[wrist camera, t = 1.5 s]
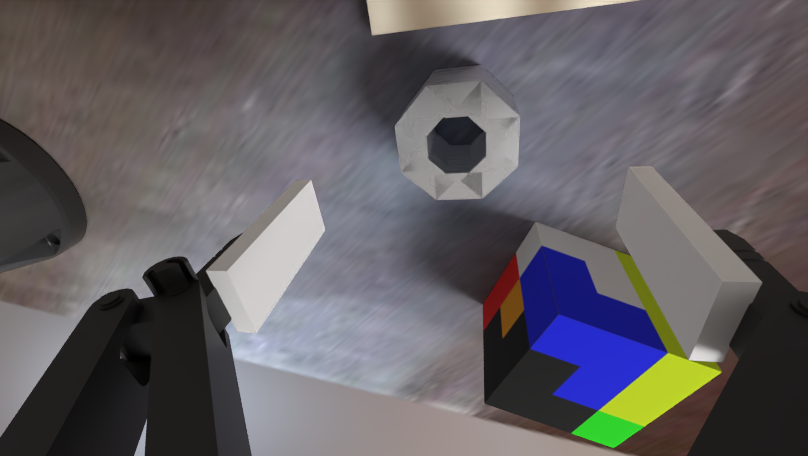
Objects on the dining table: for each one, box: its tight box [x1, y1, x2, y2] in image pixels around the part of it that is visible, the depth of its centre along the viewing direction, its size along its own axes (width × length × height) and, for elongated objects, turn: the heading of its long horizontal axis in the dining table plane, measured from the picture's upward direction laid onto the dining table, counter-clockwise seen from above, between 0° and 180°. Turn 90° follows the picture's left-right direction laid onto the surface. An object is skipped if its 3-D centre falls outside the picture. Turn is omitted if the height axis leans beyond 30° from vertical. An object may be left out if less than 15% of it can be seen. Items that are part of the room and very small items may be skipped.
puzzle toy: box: [483, 222, 722, 448], centre depth 28 cm, size 10×10×10 cm
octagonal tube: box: [395, 65, 520, 200], centre depth 23 cm, size 7×7×5 cm
